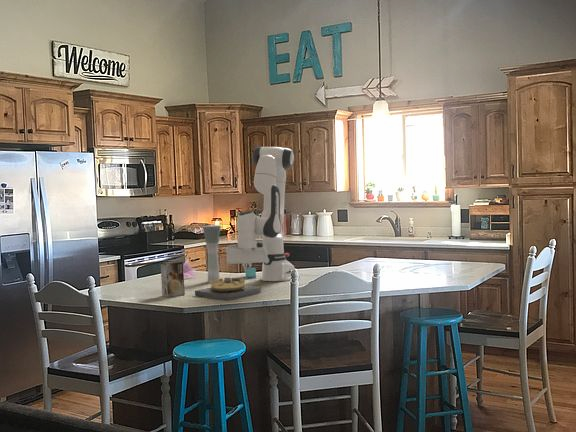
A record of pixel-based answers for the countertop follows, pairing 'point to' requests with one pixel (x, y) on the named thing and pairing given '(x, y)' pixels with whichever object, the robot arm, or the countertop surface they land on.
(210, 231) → the container
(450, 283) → the countertop surface
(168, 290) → the coffee box
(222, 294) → the dark grey square slab
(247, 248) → the robot arm
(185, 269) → the lily
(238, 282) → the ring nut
